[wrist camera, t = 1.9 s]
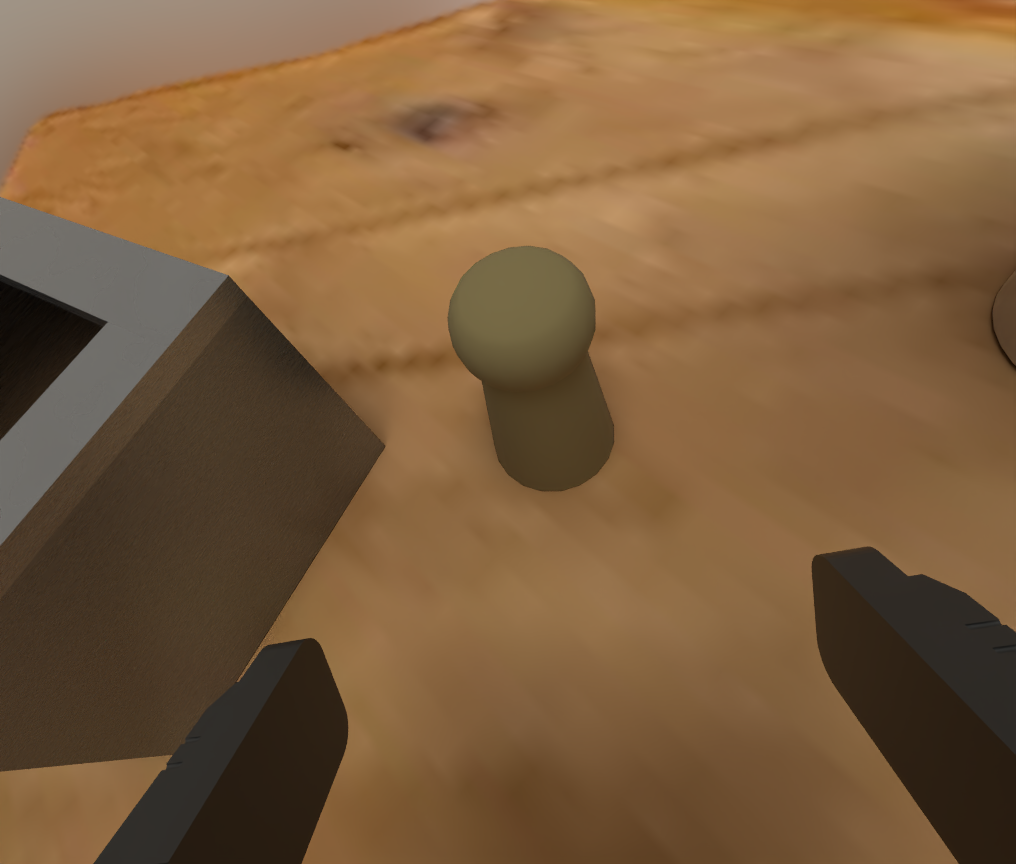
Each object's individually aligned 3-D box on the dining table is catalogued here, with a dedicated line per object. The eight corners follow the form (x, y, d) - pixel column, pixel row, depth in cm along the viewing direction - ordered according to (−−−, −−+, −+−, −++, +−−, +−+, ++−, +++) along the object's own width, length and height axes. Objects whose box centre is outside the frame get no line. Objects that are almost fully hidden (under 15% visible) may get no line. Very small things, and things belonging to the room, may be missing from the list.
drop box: (187, 358, 35) (-26, 187, 23) (385, 445, 29) (228, 275, 18) (-3, 590, 30) (-395, 515, 18) (190, 752, 24) (-208, 791, 12)
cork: (635, 409, 27) (639, 243, 18) (578, 512, 25) (548, 391, 16) (531, 367, 29) (483, 201, 20) (472, 460, 28) (389, 326, 18)
